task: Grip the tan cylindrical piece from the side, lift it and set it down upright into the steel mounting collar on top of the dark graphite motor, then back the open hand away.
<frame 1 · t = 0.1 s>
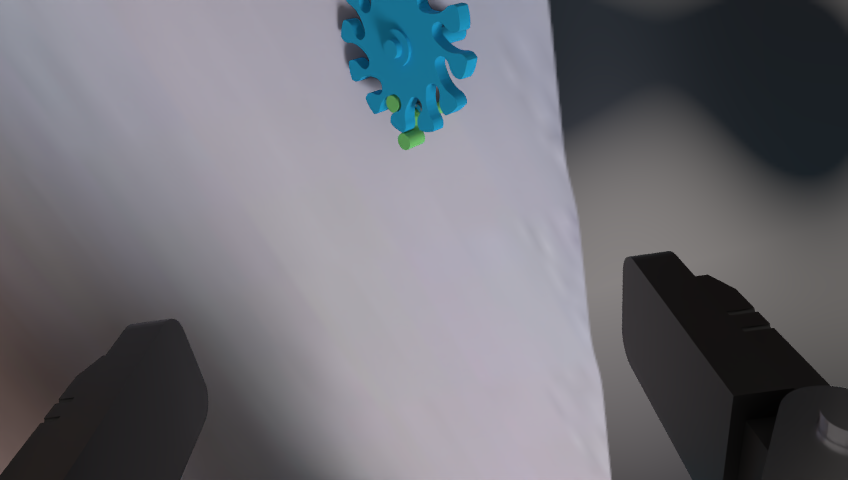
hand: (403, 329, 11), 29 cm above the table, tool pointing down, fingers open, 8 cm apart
gear: (405, 45, 37), on the table
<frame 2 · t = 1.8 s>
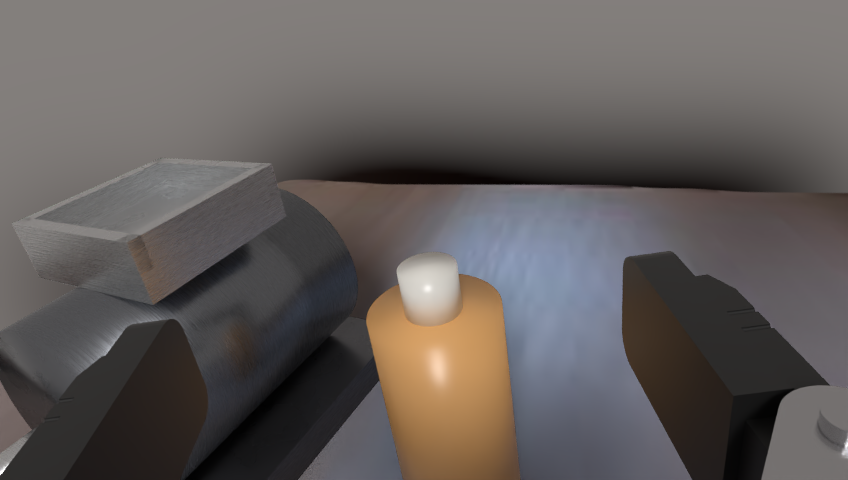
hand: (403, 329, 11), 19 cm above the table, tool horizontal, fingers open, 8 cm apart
motor: (238, 424, 37), on the table
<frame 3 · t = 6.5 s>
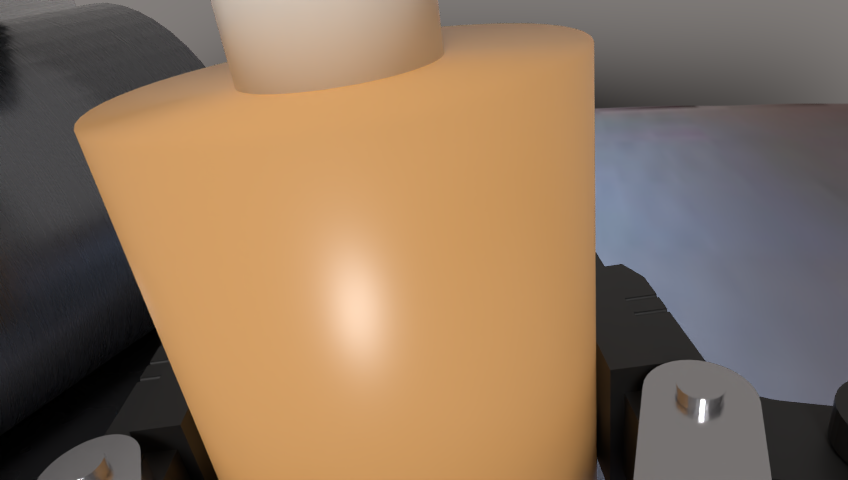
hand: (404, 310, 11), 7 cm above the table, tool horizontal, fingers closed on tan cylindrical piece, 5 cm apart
motor: (33, 447, 20), on the table
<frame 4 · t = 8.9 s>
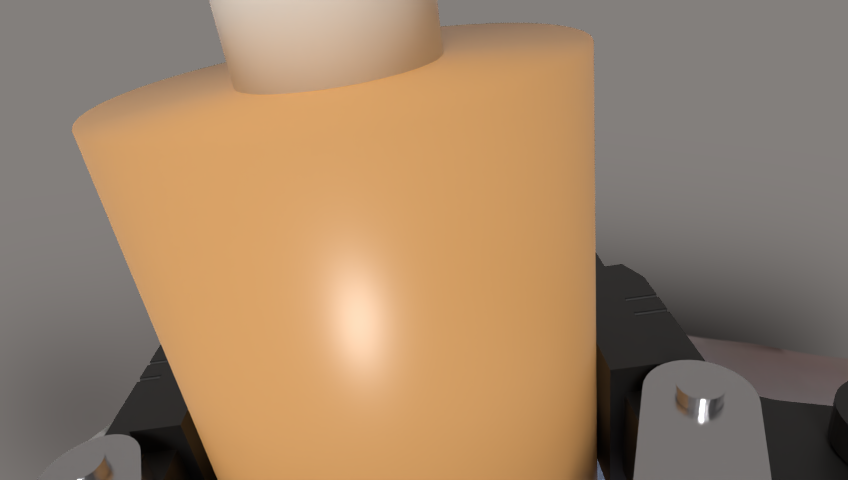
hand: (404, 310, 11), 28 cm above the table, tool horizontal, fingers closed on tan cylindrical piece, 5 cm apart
when the fingers open (23 cm above the table, at t = 11.7 s): tan cylindrical piece drops 1 cm, resting on motor.
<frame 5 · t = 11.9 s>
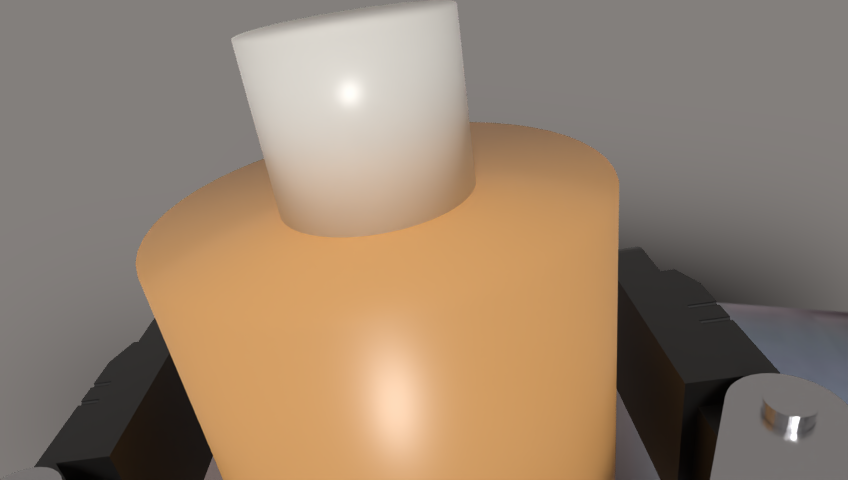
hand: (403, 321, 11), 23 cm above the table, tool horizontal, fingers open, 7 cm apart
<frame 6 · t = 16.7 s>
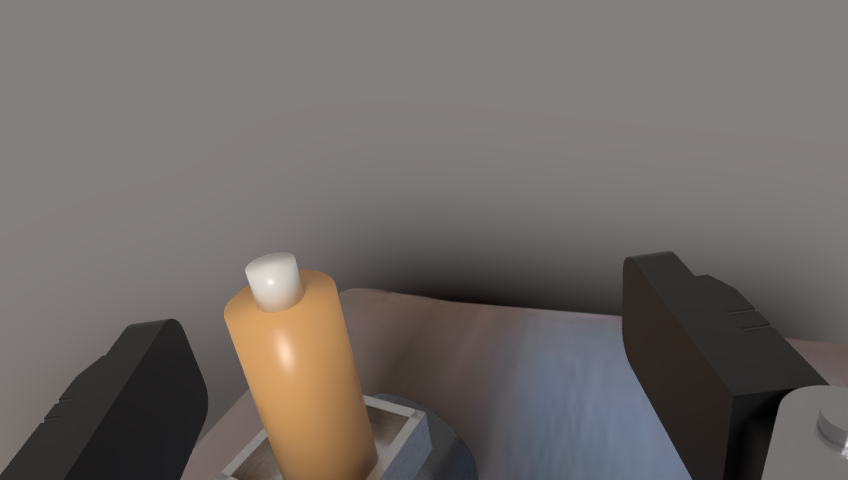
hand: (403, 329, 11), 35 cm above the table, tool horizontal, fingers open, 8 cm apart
tan cylindrical piece: (331, 466, 35), point 15 cm above the table, touching motor
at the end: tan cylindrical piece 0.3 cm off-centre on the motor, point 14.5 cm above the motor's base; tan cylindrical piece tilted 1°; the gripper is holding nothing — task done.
